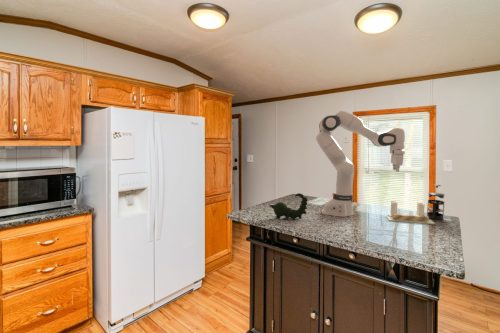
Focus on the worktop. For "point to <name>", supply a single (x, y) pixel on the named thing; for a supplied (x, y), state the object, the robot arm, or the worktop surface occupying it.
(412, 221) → the mat
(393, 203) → the rack
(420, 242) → the worktop surface
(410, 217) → the rail
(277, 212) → the toy figurine
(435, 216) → the french press
